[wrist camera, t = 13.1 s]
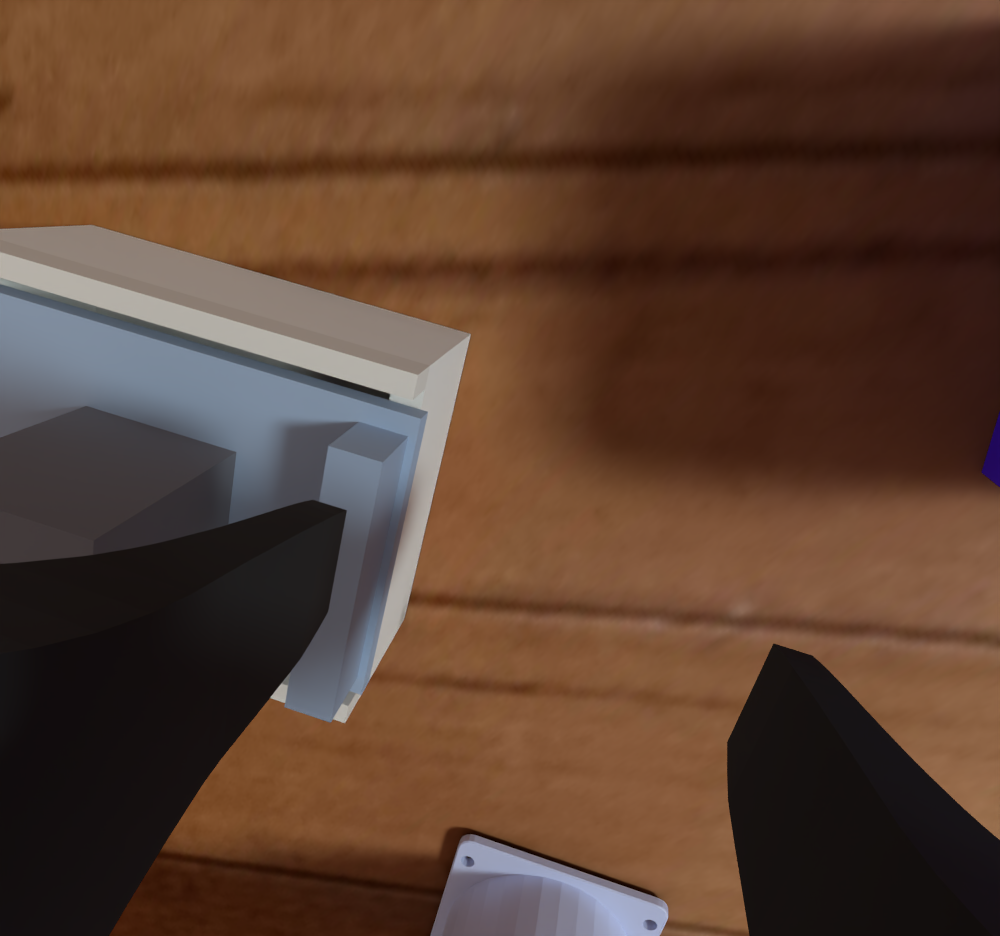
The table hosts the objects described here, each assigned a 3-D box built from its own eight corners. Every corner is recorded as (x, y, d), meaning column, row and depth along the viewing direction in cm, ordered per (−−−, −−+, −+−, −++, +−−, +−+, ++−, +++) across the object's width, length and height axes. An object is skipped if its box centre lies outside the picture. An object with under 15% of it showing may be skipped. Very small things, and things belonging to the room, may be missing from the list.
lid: (368, 681, 20) (335, 741, 18) (-11, 555, 21) (-88, 597, 19) (428, 412, 17) (396, 442, 15) (-17, 278, 18) (-110, 289, 16)
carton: (404, 618, 25) (345, 722, 20) (83, 514, 26) (-52, 589, 21) (470, 333, 21) (417, 375, 16) (92, 225, 22) (-69, 231, 17)
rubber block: (220, 589, 19) (87, 713, 15) (82, 544, 20) (-92, 652, 15) (236, 451, 18) (93, 540, 13) (86, 405, 18) (-106, 476, 13)
